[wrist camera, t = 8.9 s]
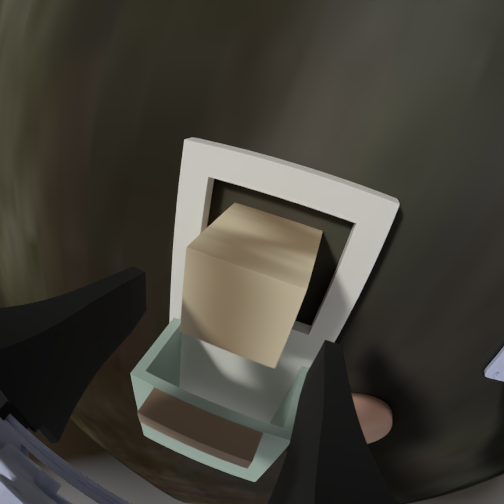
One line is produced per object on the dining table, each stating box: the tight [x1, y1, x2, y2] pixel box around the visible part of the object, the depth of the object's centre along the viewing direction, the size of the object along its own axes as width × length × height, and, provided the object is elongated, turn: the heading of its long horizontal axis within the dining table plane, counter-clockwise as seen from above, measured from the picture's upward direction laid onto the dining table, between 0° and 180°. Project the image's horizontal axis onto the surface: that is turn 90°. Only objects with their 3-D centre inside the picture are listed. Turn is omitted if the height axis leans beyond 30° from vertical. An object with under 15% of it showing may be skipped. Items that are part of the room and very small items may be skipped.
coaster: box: [351, 393, 392, 444], centre depth 20 cm, size 7×7×1 cm
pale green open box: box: [130, 317, 309, 482], centre depth 17 cm, size 9×9×7 cm
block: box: [180, 203, 323, 369], centre depth 14 cm, size 4×4×5 cm
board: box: [170, 137, 400, 423], centre depth 18 cm, size 10×20×1 cm, turn 168°
